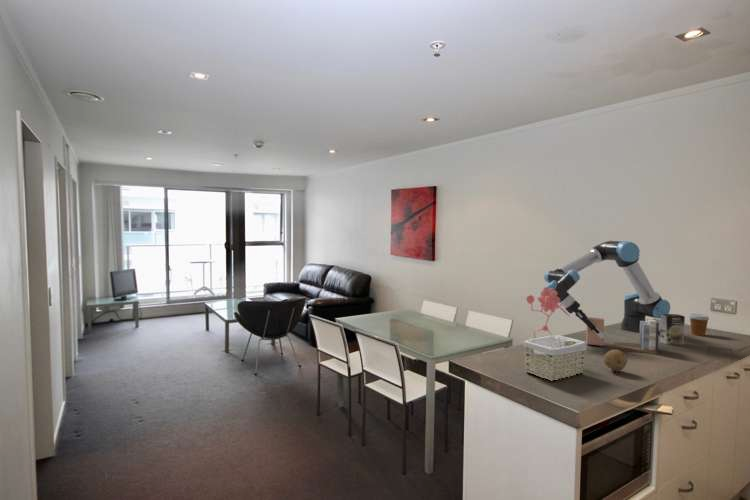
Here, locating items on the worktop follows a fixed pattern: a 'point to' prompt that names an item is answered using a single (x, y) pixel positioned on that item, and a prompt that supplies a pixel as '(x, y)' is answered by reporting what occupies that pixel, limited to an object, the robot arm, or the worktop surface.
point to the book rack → (643, 338)
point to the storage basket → (555, 356)
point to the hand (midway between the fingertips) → (602, 335)
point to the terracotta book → (591, 335)
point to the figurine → (546, 303)
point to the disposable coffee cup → (698, 324)
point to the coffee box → (672, 329)
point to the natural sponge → (615, 360)
